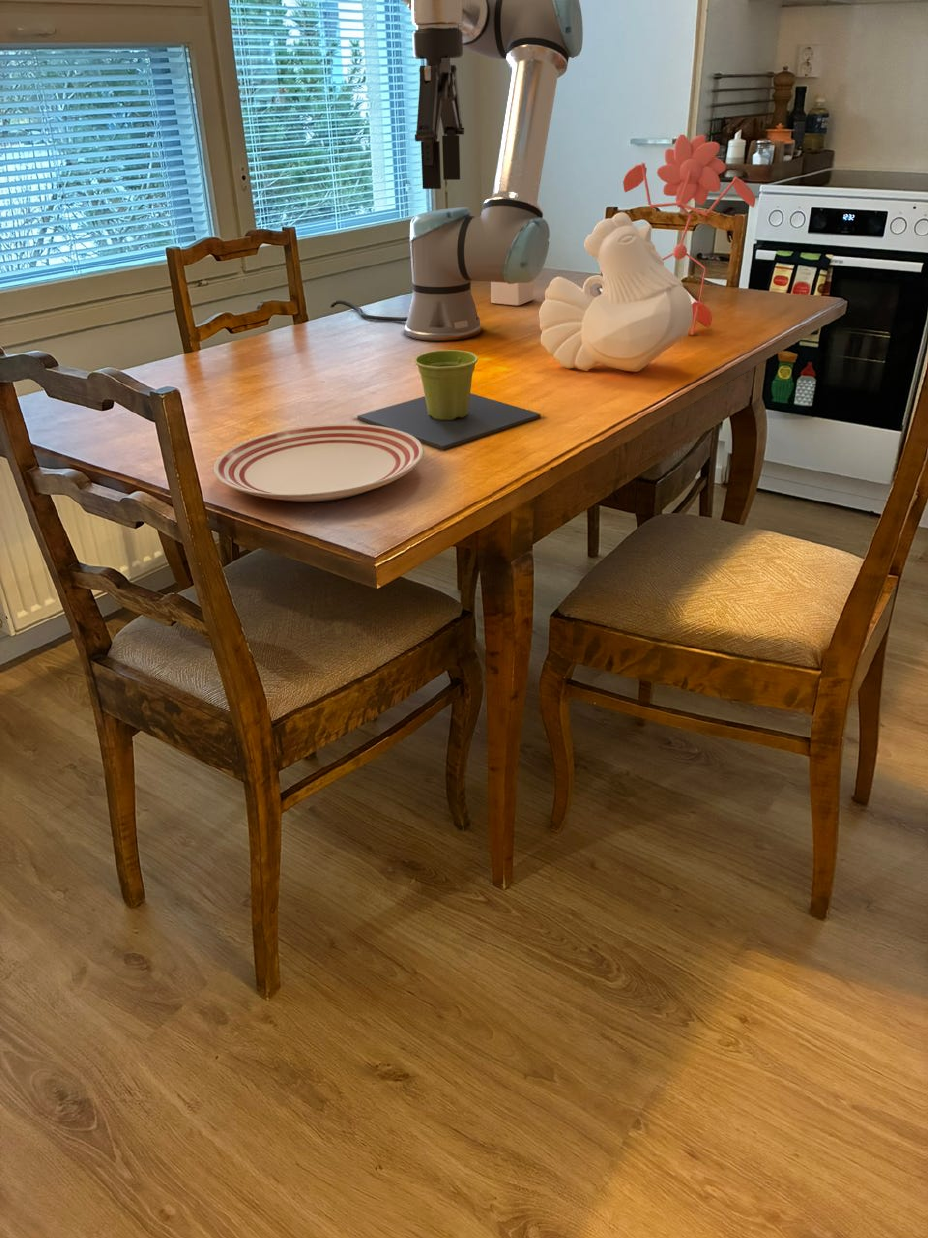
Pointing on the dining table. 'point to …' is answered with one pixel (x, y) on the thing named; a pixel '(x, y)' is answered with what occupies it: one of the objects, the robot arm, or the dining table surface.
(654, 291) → the decorative rooster
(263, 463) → the dinner plate
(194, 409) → the dining table surface
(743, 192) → the figurine
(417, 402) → the placemat
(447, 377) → the plant pot
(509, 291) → the milk carton
